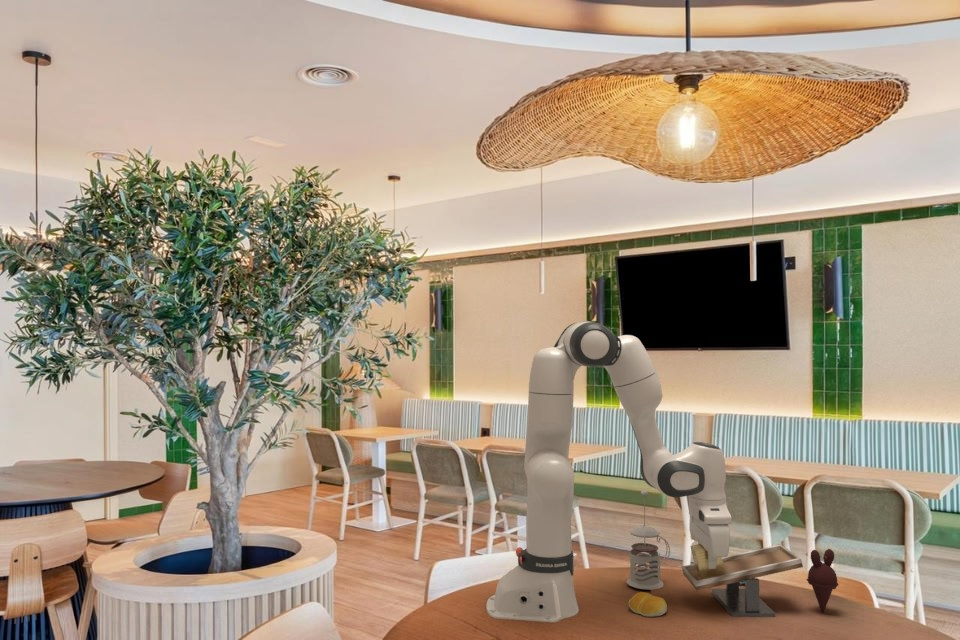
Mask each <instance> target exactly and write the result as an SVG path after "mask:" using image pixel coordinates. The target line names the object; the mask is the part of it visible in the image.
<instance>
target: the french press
mask: <svg viewBox="0 0 960 640" xmlns="http://www.w3.org/2000/svg"><path fill="white" fill-rule="evenodd" d="M640 495H642V496H643V512H644V513H643V519H644V520H643V521H644V522H643V524H642V525H638V526H634V527H632V528H630V530H629V534H630V535H631V536H632V537H633V536H634V537H637V538H642V539H643V538H644V539H643V541H644V542H636V543H633V544H632V545H630V546H631V548H632V549H631V550H630V552H629V554H630V555H629V559H630V561H629V562H630V565H629V566H630V567H629V568H630V574H629V575H630V577H629V578H627V580H626V583H627V585H628V586H630V587H633V588H636V589H640V590H658V589H661V588H663V587H664V586H665V584H664V582H663V581H662V580H661V566H662V565H663V564H666V562H667V561H668V560H669V557H670V554H671V547H670V544H669V543H668V541H667V540H666V539H665V538H664V537H662V536H660V534H661V532H660V531H659V530H658V529H656V528H655V527H654V526H653V527H652V526H649V525H646V498H645V497H646V496H648V495H649V493H648V490H646V489H644V490H643V489H642V490H641V491H640ZM649 538H650V539H651V538H656V541H657V542H658V543H660V542H661V540H663V541H664V543H665V546H666V548H665V549H666V551H665V555H664V557H663V558H662V559H661V560H660V557H661V556H660V554H661V553H659V551H658V550H659V546H657V544H656V545H655V544H653V543H649V542H646V539H649ZM640 553H644V554H640ZM645 553H647V554H649V555H647V554H645ZM638 554H639V555H638ZM666 557H667V558H666ZM662 561H664V562H662Z"/></svg>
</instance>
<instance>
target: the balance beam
mask: <svg viewBox="0 0 960 640" xmlns="http://www.w3.org/2000/svg"><path fill="white" fill-rule="evenodd" d="M722 561H723V565H724V569H725V574H721V575H717V576H712V577H708V578H703V579H701V578H700V577H699V575H698V574H697V572H696V568H695V564H694V563H692V564H688V565H682V566H681V569H682V574H683V576H684V577H685V578H686V579H687V580H688V582H689V583H690V584H691V586H693V588H694V589H695V590H696V591H697V592H698V591H702V590H707V589H713V588H715V587H716V588H717V587H721V586H726V584H730V583H734V582H739V581H743V580H745V578H761V577H765V576H770V575H773V574H778V573H783V572H787V571H792V570H797V569H800V568H804V565H803V561H802V558H800V557H799V556H798V555H796V554H795V553H793V552H792V551H791V550H790V549H788V548H787V547H785V546H783V545H782V544H777V545H776V544H775V545H772V546H767V547H763V548H759V549H753V550H750V551H745V552H741V553H736V554H731V555H728V556H727V557H722ZM739 583H740V582H739Z"/></svg>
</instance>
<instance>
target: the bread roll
mask: <svg viewBox="0 0 960 640" xmlns="http://www.w3.org/2000/svg"><path fill="white" fill-rule="evenodd" d="M628 607H629V609H630V610H631V611H632V612H633V613H635V614H637V615H640V616H643V617H647V618H648V617H649V618H652V617H653V618H654V617H660V616H662V615H664V614H665V613H667V611H668V605H667V602H666V600H665V599H664V598H662V597H660V596H656V595H655V596H654V595H652V593H651V594H650V593H649V592H646V591H645V592H644V591H640V592H637V593H635V594H634V595H633V596H632V597H631V598H630V599H629V600H628Z"/></svg>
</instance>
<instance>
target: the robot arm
mask: <svg viewBox="0 0 960 640" xmlns="http://www.w3.org/2000/svg"><path fill="white" fill-rule="evenodd" d="M581 367H588V368H589V367H590V368H597V367H599V368H600V367H603V368H605V370H606V372H607V373H608V375H609V377H610V380H611V383H612V386H613V389H614V391H615V393H616V396H617V398H618V400H619V402H620V403H621V406H622V407H623V409H624V411H625V413H626V416H627V417H628V419H629V422H630V424H631V428H632V431H633V434H634V436H635V439H636V443H637V445H638V448H639V453H640V462H639V463H640V464H639V466H640V467H639V468H640V474H641V478H642V479H643V481H644V482H645V483H646V484H647V485H648V486H649V487H650V488H654V489H656V490H657V491H659V492H661V493H662V494H664V495H665V496H668V497H669V498H670V497H671V498H684V497H688V515H689V524H688V525H689V533H690V536H691V537H692V538H694V540H696V541H697V544H701V545H702V546H703V547H704V548H705V549H706V550H707V551H708V560H707V566H708V567H709V568H710V569H715V568H716V561H717V558H718V557H727V556H729V553H730V540H731V537H730V536H731V534H730V532H731V529H730V525H732V522H733V521H732V515H731V513H730V511H729V509H728V505H727V495H726V491H725V485H726V482H727V481H726V480H727V477H726V470H727V469H726V459H725V456H724V452H723V450H722V449H721V448H720V447H719V446H716V445H714V444H711V443H707V442H701V441H693V442H692V443H690V445H689V446H687V447H686V448H685V449H683V450H682V451H679V452H677V453H674V454H672V453H671V452H670V451H669V450H668V448H667V447H666V446H665V444H664V440H663V438H662V434H661V432H660V430H659V429H660V428H659V426H658V424H657V420H656V419H657V418H656V410H657V408H658V407H659V405H660V404H661V402H662V399H663V397H664V396H663V390H662V385H661V381H660V378H659V375H658V372H657V370H656V368H655V365H654V363H653V360H652V359H651V357H650V355H649V353H648V351H647V350H646V348H645V345H643V343H642V342H641V340H640V338H638V337H636V336H634V335H632V334H624V335H619V336H617V335H616V334H615V333H614V332H612V331H611V330H610V329H609V328H608V327H606V326H605V325H603V324H601V323H599V322H594V321H589V320H581V321H578V322H574V323H572V324H569V325H568V326H567V327H565V329H564V330H563V331H562V332H561V334H560V335H559V337H558V339H557V341H556V342H555V344H554V345H553V347H551V346H550V347H544V348H542V349H541V348H540V350H538V351H537V352H536V353H535V354H534V356H533V360H532V363H531V367H530V374H529V382H528V398H527V399H528V402H527V403H528V404H527V427H526V437H525V448H524V450H525V451H524V464H523V465H524V467H523V468H524V473H525V477H526V481H527V482H526V483H527V493H526V494H527V495H526V497H527V500H526V515H525V516H526V517H525V529H526V530H525V532H526V533H525V534H526V535H525V536H526V539H525V540H526V541H525V544H526V545H525V546H526V547H525V549H523V548H522V547H517V548H516V549H515V555H516V556H517V565H516V566H514V568H512V569H511V570H510V571H508V572H507V573H506V574H504V575H502V576H501V578H499V580H498V582H497V585H496V589H495V593H494V594H493V595H491V596H490V597H489V598H488V599H487V601H486V605H485V606H486V607H485V608H486V609H485V610H486V613H487V614H488V615H489V616H490V617H492V618H494V619H500V620H514V621H528V622H541V623H558V622H560V621H561V620H564V619H567V618H570V617H574V616H576V615H577V614H578V613H579V610H580V608H579V605H578V602H577V598H576V592H575V586H574V577H573V575H574V571H575V556H574V552H573V550H572V516H573V515H572V514H573V505H574V493H575V490H574V489H575V471H574V468H573V465H572V464H571V463H570V460H569V453H570V443H571V436H572V430H573V423H574V420H573V418H574V393H575V392H574V390H575V389H574V387H575V385H574V381H575V378H576V377H575V376H576V374H577V372H578V370H579V369H580V368H581Z"/></svg>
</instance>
